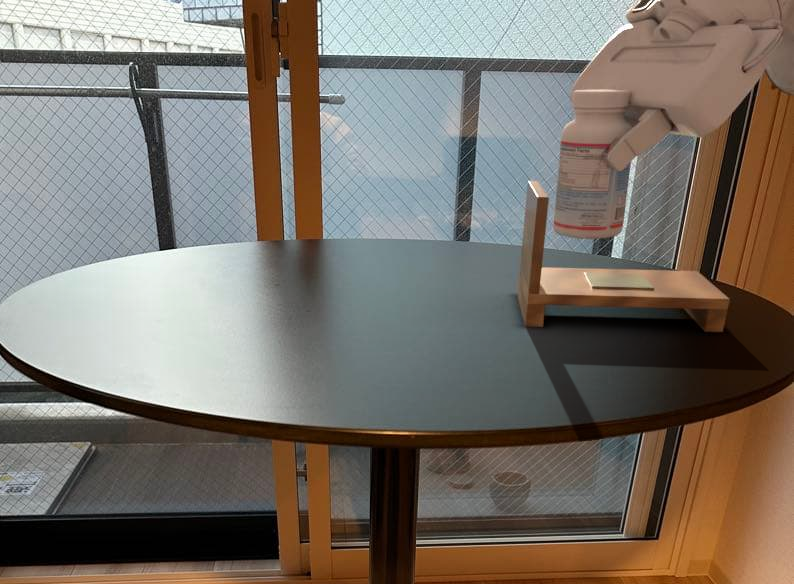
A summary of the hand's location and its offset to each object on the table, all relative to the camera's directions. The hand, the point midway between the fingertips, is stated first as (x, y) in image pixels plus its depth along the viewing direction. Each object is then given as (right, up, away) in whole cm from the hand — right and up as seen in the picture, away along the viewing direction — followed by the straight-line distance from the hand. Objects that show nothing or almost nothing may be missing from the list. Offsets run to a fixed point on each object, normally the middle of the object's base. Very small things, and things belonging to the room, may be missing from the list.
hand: (587, 160), depth 69 cm
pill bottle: (+1, -5, +3) cm, 6 cm away
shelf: (+10, -5, +28) cm, 30 cm away
